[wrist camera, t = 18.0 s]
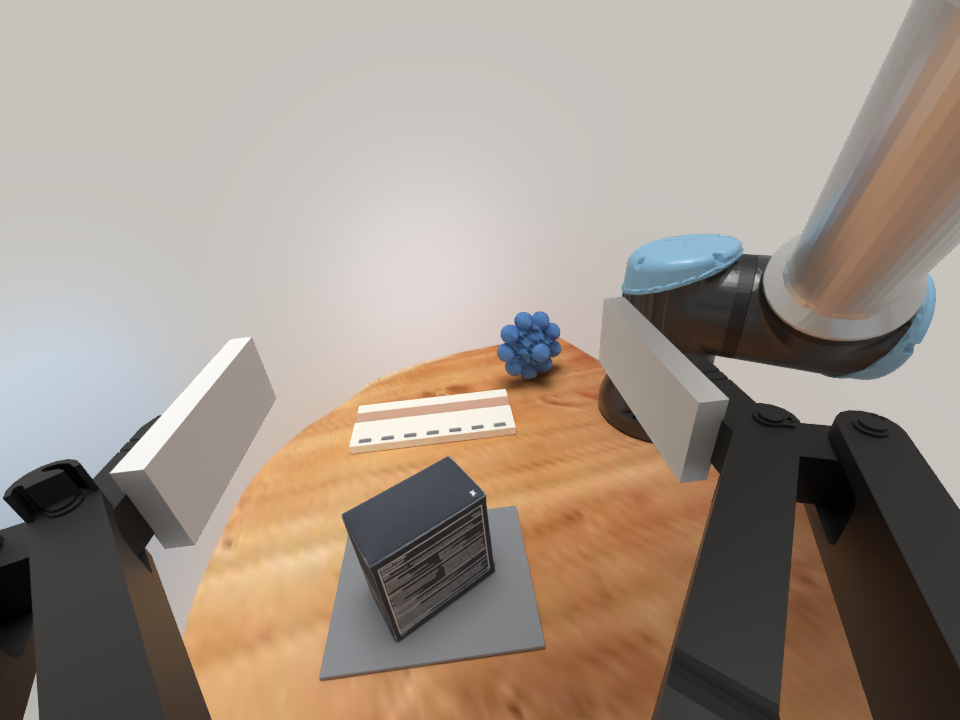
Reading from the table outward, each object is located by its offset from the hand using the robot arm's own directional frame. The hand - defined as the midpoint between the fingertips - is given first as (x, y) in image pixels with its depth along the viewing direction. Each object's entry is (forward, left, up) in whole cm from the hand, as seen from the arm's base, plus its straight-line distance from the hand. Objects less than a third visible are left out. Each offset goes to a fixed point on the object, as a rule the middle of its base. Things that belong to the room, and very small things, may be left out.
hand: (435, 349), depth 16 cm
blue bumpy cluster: (-12, -41, -30) cm, 52 cm away
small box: (+4, -10, -30) cm, 32 cm away
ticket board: (+4, -33, -30) cm, 45 cm away
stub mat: (+4, -10, -30) cm, 32 cm away
